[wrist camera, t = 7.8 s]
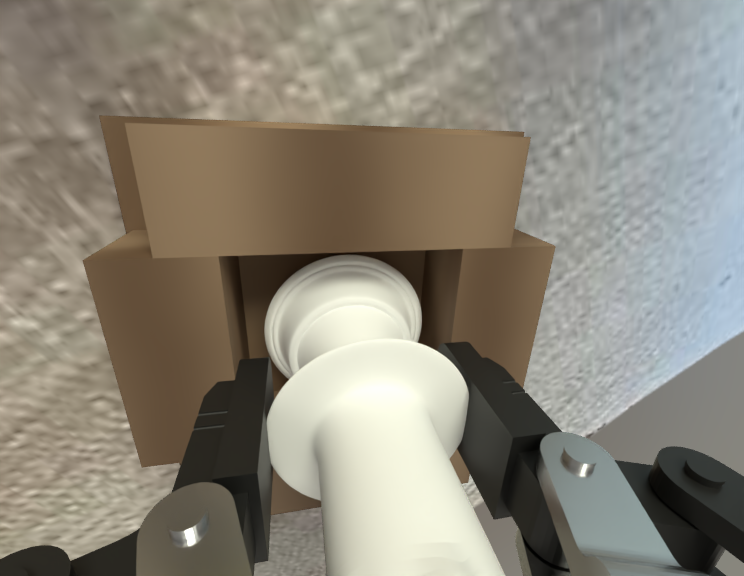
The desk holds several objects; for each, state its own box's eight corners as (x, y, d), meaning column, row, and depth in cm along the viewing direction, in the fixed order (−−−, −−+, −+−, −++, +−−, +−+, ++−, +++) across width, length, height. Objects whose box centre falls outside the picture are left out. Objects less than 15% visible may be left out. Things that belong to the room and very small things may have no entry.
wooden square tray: (508, 132, 13) (588, 130, 10) (464, 411, 18) (506, 479, 15) (114, 117, 11) (27, 108, 7) (186, 446, 16) (155, 538, 12)
